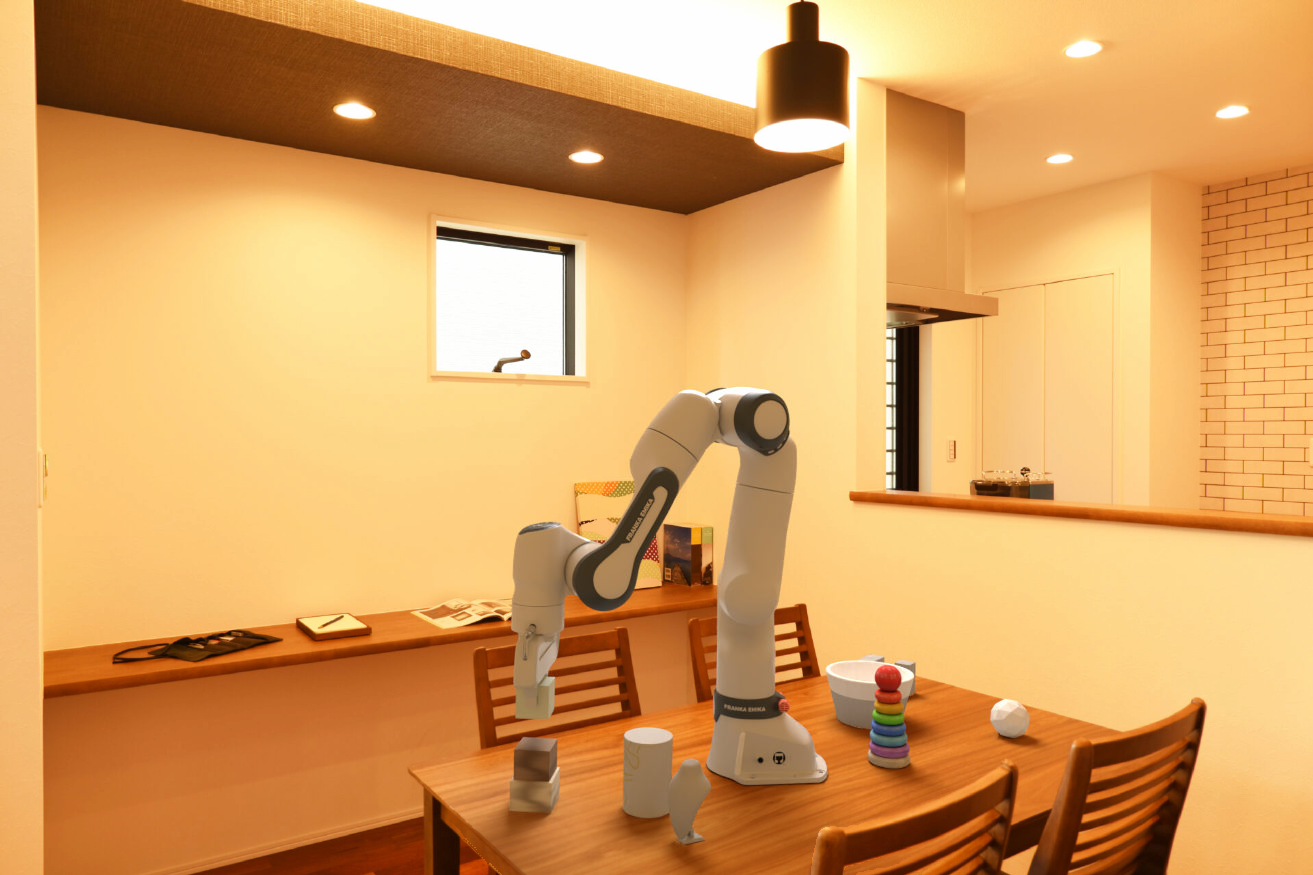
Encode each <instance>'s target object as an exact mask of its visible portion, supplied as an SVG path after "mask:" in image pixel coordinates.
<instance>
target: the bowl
mask: <svg viewBox="0 0 1313 875" xmlns="http://www.w3.org/2000/svg"><path fill="white" fill-rule="evenodd" d="M883 665H892V666H894V667H896V668H897V669H898V670H899V671H900V673H901V676H902V682H901V685H900V687H899V688H898V689H897V690H899V691H900V692H901V694H902V699H901V700H900V702H902V704H903V706H904V709H903V711H902V713H903V714H904V715H905V712H906V708H907V704H908V700H909V698H910V697H909V694H910V691H911V687H912V683H913V680H914V674H913V673H912V672H911V671H910V670H908V669H906V668H903V667H900V666H897V665H895V664H891V663H887V662H884V663H882V662H874V661H857V660H842V661H837V662H833V663H830V664H828V665H827V666H826V668H825V672H826V677H827V681H828V685H829V689H830V694H831V697H832V701H833V707H834V710H835V711H834V712H835V716H836V719H837V720H838V721H839V722H840V723H843V724H844V723H845V724H844V725H847V726H850V725H851V727H853V726H854V728H857V727H860V728H859V729H863V728H866V729H865V730H872V726H871V724H872V721H873V720H874V719H873V716H872V714H873V711H874V710H875V708H874V703H875V701H876V700H877V699H876V698H875V692H876V690H877V689H880V688H879V687H878V686H877V684H876V682H875V673H876V671H877V669H878V668H879V667H881V666H883Z"/></svg>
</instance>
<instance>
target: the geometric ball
mask: <svg viewBox="0 0 1313 875" xmlns="http://www.w3.org/2000/svg"><path fill="white" fill-rule="evenodd" d="M1030 718H1031V716H1030V714H1029V712H1028V710H1027V709H1026V708H1025V706H1024V705H1022V704H1021V703H1020V702H1019V701H1018V700H1013V699H1009V698H1004V699H1002V700H1000V701H998V702H997V703H995V704H994V705H993V707H992V709H991V710H990V723H991V724H992V726H993V728H994V731H996V732H997V733H998V734H1000V735H1001V736H1004V737H1007V738H1011V739H1016V738H1018V737H1021V736H1022V735H1024V734H1026V733H1027V730H1028V728H1029V727H1030Z"/></svg>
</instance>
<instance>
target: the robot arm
mask: <svg viewBox="0 0 1313 875" xmlns="http://www.w3.org/2000/svg"><path fill="white" fill-rule="evenodd" d="M789 413H790V412H789V409H788V406H787V404H786V402H785V400H784V399H783V398H782V397H781V396H780V395H778V394H776V393H774V392H773V391H770V390H768V389H765V388H754V387H747V386H736V387H735V386H734V387H728V388H727V387H717V388H714V389H711V390H708V391H707V392H705V393H703V392H700V391H698V390H693V389H685V390H684V389H683V390H681V391H679V392H677V393H676V394H675V395H674V396H673V397H672V398H671V399H670V400H669V401H668V402H667V403H666V404H665V405H664V406H663V407H662V408H661V410H660V411H659V412H657V414H656V415H655V417H654V418H653V419H652V420H651V422H650V423H649V425H648V426H647V428H646V429H645V431H644V432H643V433H642V434H641V437H640V438H639V439H638V441H637V444H636V445H635V447H634V449H633V451H632V454H631V456H630V459H629V469H630V473H631V476H632V480H633V484H634V486H633V487H634V488H633V494H632V498H631V500H630V502H629V504H628V505H627V507H626V509H625V510H624V512H623V514H622V516H621V517H620V519H619V521H618V522H617V524H616V526H615V527H614V529H613V531H612V533H611V534H610V536H609V537H608V538H607V540H605V541H603V543H600V542H597V541H595V540H591V539H588V538H586V537H584V536H581V535H580V534H577V533H575V532H573V531H572V530H570V529H568V528H567V527H565V526H564V525H563V524H562V523H560V522H557V521H544V522H538V523H533V524H529V525H527V526H525V527H523V528H522V529H521V530H520V531H519V532H518V534H517V536H516V540H515V542H514V544H515V545H514V550H513V560H512V579H513V583H514V592H513V595H512V597H511V598H512V599H511V619H510V620H511V628H510V629H511V631H513V632H515V633H517V634H518V640H517V642H516V645H515V651H514V666H513V686H514V688H515V690H516V689H524V694H525V698H526V700H525V706H526V708H527V709H535V708H536V706H537V705H538V696H537V688H538V684H539V683H540V681H541V680H542V678H543V677H549V676H548V675H549V670H550V669H551V667H552V665H553V664H554V663H555V661H556V660H557V657H558V654H559V653H558V652H559V645H560V640H561V639H560V638H561V632H562V631H564V629H565V607H566V606H565V605H566V604H565V598H567V596H574V595H575V596H576V597H578V599H579V600H580V601H581V602H582V604H583V605H585V606H586V607H588V608H589V609H591V610H594V611H597V612H610V611H613V610H616V609H618V608H620V607H622V606H623V605H625V604H626V602H628V601H629V599H630V598H631V597H632V595H633V593H634V591H635V588H636V585H637V581H638V577H639V571H640V568H641V563H642V561H643V558H644V557H645V555H646V553H647V551H648V549H649V548H650V546H651V543H652V542H653V541H654V539H655V537H656V535H657V533H658V531H659V530H660V528H661V526H662V525H663V522H664V521H665V520H666V517H667V516H668V515H669V512H670V510H671V508H672V506H673V504H674V502H675V500H676V498H677V497H678V495H679V493H680V491H681V489H682V488H683V486H684V485H685V483H686V482H687V480H688V479H689V477H690V476H691V474H692V472H693V471H694V470H695V468H696V467H697V466H698V464H699V462H700V461H701V459H702V457H703V456H704V454H705V453H706V451H707V449H708V448H709V447H710V446H711V445H712V444H713V443H714V444H715V443H716V444H722V445H726V446H728V447H729V446H730V447H735V448H737V451H738V455H739V467H738V468H739V469H738V473H737V478H736V483H735V488H734V494H733V500H732V505H731V511H730V518H729V522H728V528H727V537H726V544H725V551H724V556H723V564H722V568H720V571H719V573H718V576H717V585H716V586H717V587H716V589H717V592H716V593H717V594H716V595H717V596H716V597H717V598H716V600H717V601H716V602H717V603H716V606H717V607H716V609H717V610H716V611H717V612H716V643H717V644H716V683H715V684H716V688H714V691H713V697H712V698H713V699H712V715H713V719H714V724H713V732H712V740H711V744H710V749H709V754H708V757H707V759H706V766H707V768H708V770H710V771H712V773H713V772H714V773H715V774H717V775H718V776H722V777H725V778H729V779H731V780H734V781H735V782H736V783H739V784H740V785H743V786H754V785H755V786H758V785H781V784H782V785H783V784H784V785H785V784H786V785H787V784H808V783H809V784H810V783H811V784H812V783H813V784H814V783H822V782H824V781H825V780H826V779H827V778H828V766H827V763H826V761H825V759H824V757H822V756H821V755H820V754H818V753H817V752H816V749H815V744H814V741H813V737H812V736H811V734H810V732H809V731H808V729H807V728H806V727H804V726H803V725H802V724H801V723H800V722H798V721H797V720H795V718H793V717H792V716H791V715H789V714H788V713H787V712H789V711H790V708H791V706H790V702H789V701H788V699H787V698H786V697H785V695H783V693H782V692H781V691H777V690H776V637H775V636H776V634H775V611H776V610H777V607H778V604H779V602H780V601H779V600H780V596H781V595H780V593H781V588H782V579H783V571H784V564H785V563H784V562H785V556H786V547H787V546H786V544H787V536H788V535H787V534H788V530H789V524H790V517H791V512H792V505H793V500H794V495H795V489H796V483H797V482H796V481H797V472H798V471H797V469H798V468H797V466H798V465H797V464H798V454H797V452H798V451H797V450H798V449H797V445H796V442H795V441H794V439H793V438H792V437H790V414H789Z"/></svg>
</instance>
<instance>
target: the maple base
mask: <svg viewBox="0 0 1313 875" xmlns="http://www.w3.org/2000/svg"><path fill="white" fill-rule="evenodd" d="M560 771H561V767H560V766H557V769H556V771H555V772H554V774H553V776H552V778H551V779H550V781H549V782H543V781H526V780H513V778H514V774H513V775H512V777H511V778H510V780H509V799H508V800H509V801H508V802H509V804H508V805H509V812H525V813H526V812H527V813H543V814H544V813H545V814H546V813H547V814H552V813H553V810H554V808H555V806H556V804H557V801H558V799H559V797H560V784H561V782H560V778H561V774H560V773H561V772H560Z"/></svg>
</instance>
